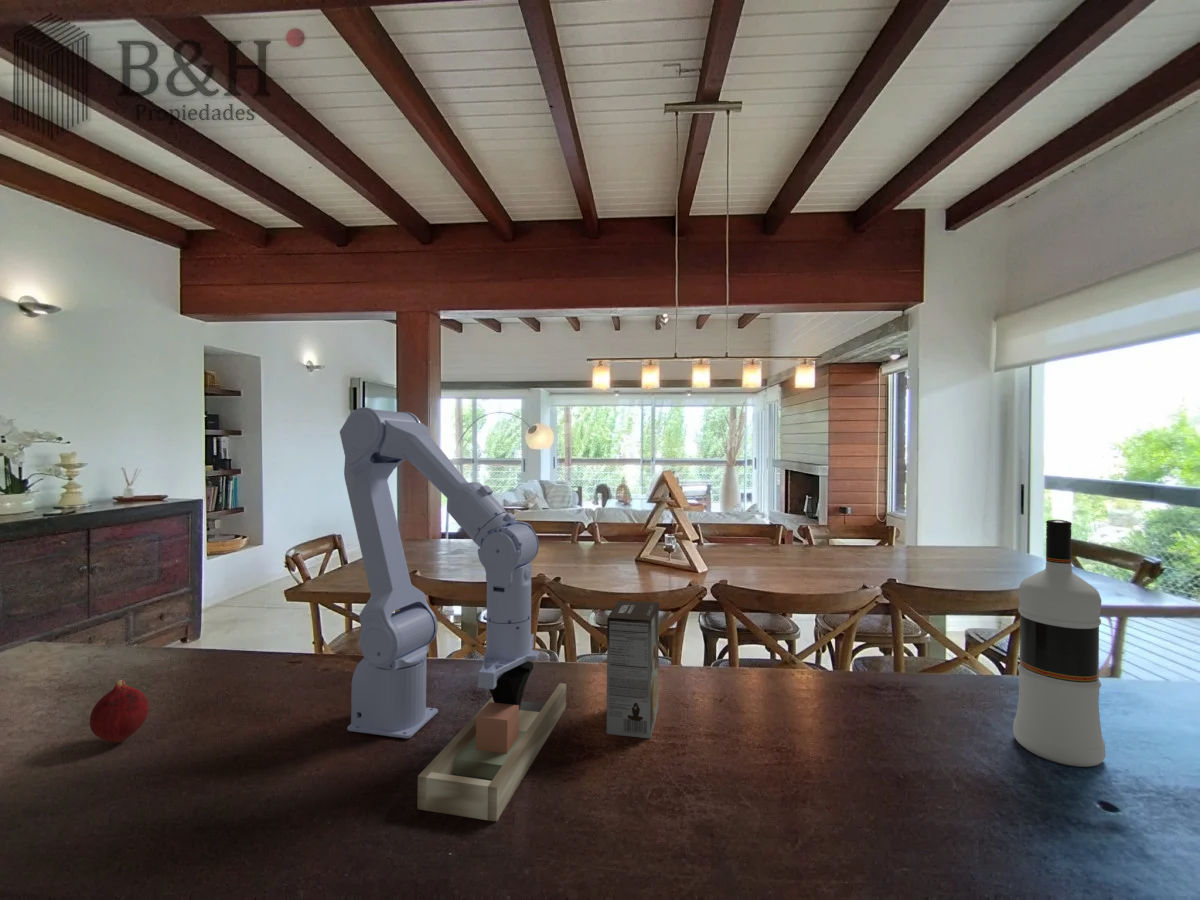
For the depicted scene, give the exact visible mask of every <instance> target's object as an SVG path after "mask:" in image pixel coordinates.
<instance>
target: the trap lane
mask: <svg viewBox="0 0 1200 900" xmlns="http://www.w3.org/2000/svg"><path fill="white" fill-rule="evenodd" d="M489 702H493V703H494V701H493V697H492V696H491V697H490V698H489V700H488V701H487V702H486V703H485V704H484V705H483V706H482V707H481V708H480V709H478V711H477V712H476V713H475V715H473V716H472V717H471V719H469V721H468V722H467V723H466V724H465V725H464V726H463V727H462V728H461V729H460V731H458V733H456V735H455V736H454V737H453V738H452V739H451V740H449V742H448V743H447V744H446V745H445V746H444V747H443V749H442V750H440V752H439V753H438V754H437V755H436V756H435V757H434V758H433V759H432V760H431V762H429V763H428V765H426V767H425V768H424V769H422V771H421V772H420V773H419V774H418V775H417V802H416V803H417V810H422V811H427V812H434V813H438V814H446V815H452V816H459V817H464V818H471V819H475V820H477V819H478V820H483V821H489V822H495V821H496V822H498V821H499V819H500V817H501V815H502V813H503V812H504V810H505V809H506V807H507V805H508V804H509V803H510V800H511V798H512V797H513V796H514V794H515V792H516V790H517V789H518V787H519V786H520V784H521V782H522V781H523V779H524V777H525V776H526V774H527V773H528V771H529V769H530V768H531V766H532V764H533V763H534V761H535V759H536V758H537V756H538V754H539V753H540V752H541V749H543V746H544V744H545V743H546V741H547V739H548V738H549V736H550V734H551V733H552V731H553V729H554V728H555V726H556V725H557V723H558V721H559V719H560V718H561V716H562V715H563V713H564V712H565V710H566V708H567V683H561V682H560V683H559V684H558V685H557V686H556V688H555V689H554V690H553V693H552V694H551V695H550V696H549V697H548V700H547V701H546V702H545V703H542V702H533V701H524V700H522V701H521V705H520V710H519V737H518V739H517V740H516V742H515V743H514V745H513V746H512V747H511V749H510V750H509V752H508V753H507V754H506V753H498V752H491V751H483V750H476V716H477V715H478V714H479V713H480V712H481V711H482V710H483V709H484V708H485V707H486V706H487V704H488V703H489ZM529 767H530V768H529ZM521 780H522V781H521ZM496 822H495V823H496Z"/></svg>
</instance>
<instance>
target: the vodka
mask: <svg viewBox="0 0 1200 900" xmlns="http://www.w3.org/2000/svg"><path fill="white" fill-rule="evenodd" d="M1045 524H1046V525H1045V526H1046V527H1045V530H1046V533H1045V536H1046V538H1045V561H1046V562H1045V569H1043V570H1041V571H1038V572H1036V573H1034V574H1032V575H1030V576H1028V577H1026V578H1024V579H1023V580H1022V581H1021V582H1020V583H1019V587H1018V589H1017V595H1018V603H1019V607H1018V608H1017V610H1018V613H1019V664H1018V665H1017V671H1018V680H1019V683H1018V685H1019V686H1018V702H1017V708H1016V714H1015V718H1014V719H1013V722H1012V723H1013V725H1012V726H1013V727H1012V733H1013V735H1014V738H1015V740H1016V742H1018V744H1020V745H1021V747H1022V748H1024V749H1026V750H1027V751H1029V752H1030V753H1032V754H1033V755H1035V756H1038V757H1039V758H1042V759H1045V760H1047V761H1050V762H1053V763H1057V764H1059V765H1064V766H1068V767H1077V768H1090V767H1096V766H1099V765H1101V764H1102V763H1103V761H1104V760H1105V759H1106V743H1105V740H1104V738H1103V735H1102V734H1103V733H1102V727H1101V726H1102V725H1101V719H1100V718H1101V717H1100V706H1099V705H1100V702H1099V701H1100V688H1101V687H1102V682H1101V680H1100V679H1099V678H1100V677H1099V676H1100V675H1099V674H1100V673H1099V672H1100V670H1099V669H1100V667H1099V666H1100V660H1099V659H1100V658H1099V657H1100V651H1099V650H1100V626H1101V624H1102V619H1101V618H1100V617H1101V610H1102V598H1101V596H1100V593H1099V591H1098V590H1097V588H1096V587H1094V586H1093V585H1092V584H1090V583H1088V582H1087V581H1086V580H1084V579H1083V578H1082V577H1080V576H1078V575H1077V574H1075V573H1074V572H1073V569H1072V526H1073V525H1072V522H1070V521H1067V520H1064V519H1049V520H1046V521H1045Z"/></svg>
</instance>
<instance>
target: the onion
mask: <svg viewBox="0 0 1200 900" xmlns="http://www.w3.org/2000/svg"><path fill="white" fill-rule="evenodd" d="M149 711H150V705H149V702H148V699H147V697H146V695H145V694H144V693H143V692H142V691H141V690H139V689H138V688H135V687H131V686H130V685H129V686H128V684H126V681H125V680H123V679H118V680H117V681H116V682H115V684H114V687H113V689H111V690H110V691H109V692H107V693H106V694H104V695H103V696H102V697H101V698H100V699H99V700H98V701H97V702H96V704H95V705H94V706H93V708H92V711H91V713H90V716H89V726H90V731H91V732H92V733H93V734H94V735H95V736H96V737H98V738H99V739H100V740H103V741H104V742H105V741H106V742H109V743H113V744H116V745H117V744H121V743H123V742H124V741H126V740H127V739H128V738H130V737H131V736H132V735H133V734H135V733H136V732H137V731H138V730H139V729H140V728H141V727H142V726H143V724H144V723H145V721H146V719H147V718H148V715H149Z"/></svg>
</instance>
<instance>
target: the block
mask: <svg viewBox="0 0 1200 900" xmlns="http://www.w3.org/2000/svg"><path fill="white" fill-rule="evenodd" d="M518 737H519V705H511V704H502V703H493V702H489V703H488V704H487V706H486V707H485V708H484V709H483V710H482V711H481V712H480V713H479V714H478V715H477V716H476V750H483V751H491V752H498V753H506V754H507V753H508V752H509V750H510V749H511V747H512V746H513V745H514V743H515V742H516V740H517V739H518Z"/></svg>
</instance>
